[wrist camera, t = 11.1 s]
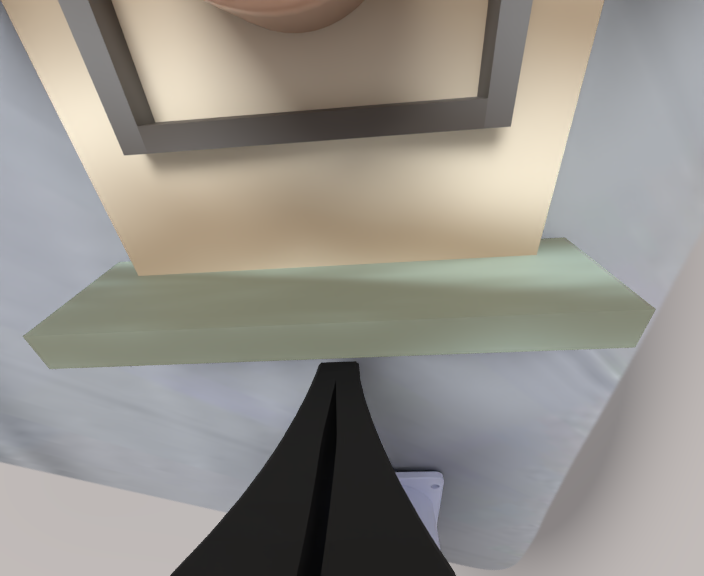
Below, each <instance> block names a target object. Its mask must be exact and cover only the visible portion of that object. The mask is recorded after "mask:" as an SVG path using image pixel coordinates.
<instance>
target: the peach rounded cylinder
mask: <svg viewBox="0 0 704 576" xmlns="http://www.w3.org/2000/svg"><path fill="white" fill-rule="evenodd" d="M203 1H205V2H207V3H209V4H212V5H214V6H216V7H218V8H220V9H222V10H224V11H226V12H228V13H230V14H233V15H235V16H237V17H239V18H241V19H243V20H245V21H247V22H249V23H252V24H254V25H256V26H259V27H262V28H265V29H268V30H271V31H276V32H282V33H305V32H311V31H316V30H319V29H322V28H325V27H328V26H330V25H332V24H334V23H336V22H338V21H339V20H341V19H343V18H344V17H346V16H347V15H348V14H350V13H351V12H352V11H354V10H355V9H356V8H357V7H358V6H359V5H360V4H361V3H362V2H363V1H364V0H203Z"/></svg>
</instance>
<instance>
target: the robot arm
mask: <svg viewBox="0 0 704 576" xmlns="http://www.w3.org/2000/svg"><path fill="white" fill-rule="evenodd" d="M443 485H444V479H443V474H441V473H440V472H436V471H429V472H395V471H394V469H393V467H392V465H391V463H390V461H389V459H388V457H387V455H386V452H385V450H384V448H383V446H382V443H381V441H380V439H379V436H378V434H377V431H376V429H375V426H374V424H373V421H372V418H371V416H370V413H369V410H368V407H367V404H366V400H365V397H364V393H363V389H362V385H361V381H360V372H359V364H358V363H357V362H356V361H355V362H327V363H321V364H320V365H319V366H318V369H317V372H316V375H315V377H314V379H313V382H312V384H311V386H310V388H309V391H308V393H307V395H306V397H305V399H304V401H303V403H302V405H301V407H300V408H299V410H298V412H297V414H296V416H295V418H294V420H293V421H292V423H291V425H290V426H289V428H288V430H287V432H286V433H285V435H284V437H283V438H282V440H281V442H280V443H279V445H278V446H277V448H276V449H275V451H274V452H273V454H272V455H271V457H270V458H269V460H268V461H267V463H266V464H265V465H264V467H263V468H262V470H261V471H260V472H259V474H258V475H257V476H256V478H255V479H254V480H253V482H252V483H251V484H250V486H249V487H248V488H247V490H246V491H245V492H244V494H243V495H242V496H241V497H240V499H239V500H238V501H237V502H236V503H235V505H234V506H233V507H232V508H231V509H230V510H229V512H228V513H227V514H226V515H225V516H224V517H223V519H222V520H221V521H220V522H219V523H218V525H217V526H216V527H215V528H214V529H213V530H212V531H211V533H210V534H209V535H208V536H207V537H206V538H205V539H204V540H203V541H202V542H201V544H199V545H198V547H197V548H196V549H195V550H194V551H193V552H192V553H191V554H190V555H189V556H188V557H187V558H186V559H185V560H184V561H183V562H182V563H181V564H180V566H179V567H178V568H177V569H176V570H175V571H174V572H173V573H172V574H171V575H170V576H456V575H455V572H454V571H453V569H452V568H451V566H450V565H449V563H448V562H447V560H446V559H445V557H444V556H443V554H442V552H441V549H440V543H439V537H438V531H437V522H438V516H439V510H440V503H441V497H442V491H443Z"/></svg>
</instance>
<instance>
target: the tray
mask: <svg viewBox="0 0 704 576" xmlns="http://www.w3.org/2000/svg"><path fill="white" fill-rule="evenodd" d="M1 1H2V3H3V5H4V7H5V9H6V11H7V13H8V15H9V17H10V19H11V21H12V23H13V25H14V27H15V29H16V31H17V33H18V35H19V37H20V39H21V41H22V43H23V45H24V48H25V50H26V52H27V54H28V56H29V58H30V60H31V62H32V64H33V66H34V68H35V70H36V72H37V74H38V76H39V78H40V80H41V82H42V84H43V86H44V88H45V90H46V92H47V94H48V96H49V98H50V100H51V102H52V104H53V106H54V108H55V110H56V112H57V114H58V116H59V118H60V120H61V122H62V124H63V126H64V128H65V130H66V132H67V134H68V136H69V138H70V140H71V142H72V144H73V146H74V148H75V150H76V152H77V154H78V156H79V158H80V160H81V162H82V164H83V166H84V168H85V170H86V172H87V174H88V176H89V178H90V180H91V182H92V184H93V186H94V188H95V190H96V192H97V194H98V196H99V198H100V200H101V202H102V204H103V206H104V208H105V210H106V212H107V214H108V216H109V218H110V220H111V222H112V224H113V226H114V228H115V230H116V232H117V234H118V236H119V238H120V240H121V242H122V244H123V246H124V248H125V250H126V252H127V254H128V256H129V258H130V260H131V262H119V263H117V264H116V265H115V266H113V267H112V268H111V269H109V270H108V271H107V272H106V273H104V274H103V275H102V276H100V277H99V278H98V279H96V280H95V281H94V282H93V283H91V284H90V285H89V286H87V287H86V288H85V289H84V290H82V291H81V292H80V293H78V294H77V295H76V296H74V297H73V298H72V299H71V300H69V301H68V302H67V303H65V304H64V305H63V306H61V307H60V308H59V309H58V310H56V311H55V312H54V313H52V314H51V315H50V316H49V317H47V318H46V319H45V320H43V321H42V322H41V323H39V324H38V325H37V326H36V327H34V328H33V329H32V330H30V331H29V332H28V333H26V334H25V335H24V336H23V337H24V339H25V340H26V341H27V342H28V343H29V345H30V346H31V347H32V348H33V350H34V351H35V352H36V353H37V354H38V356H39V357H40V358H41V359H42V360H43V362H44V363H45V364H46V365H47V367H48V368H49V369H62V368H89V367H116V366H144V365H171V364H198V363H225V362H252V361H280V360H307V359H334V358H361V357H389V356H416V355H443V354H470V353H497V352H525V351H552V350H579V349H606V348H634V347H636V345H637V343H638V341H639V339H640V337H641V336H642V334H643V332H644V330H645V328H646V326H647V324H648V323H649V321H650V319H651V317H652V315H653V313H654V312H655V310H656V309H655V308H654V307H652V306H651V305H650V304H648V303H647V302H646V301H645V300H643V299H642V298H641V297H640V296H638V295H637V294H636V293H635V292H633V291H632V290H631V289H629V288H628V287H627V286H626V285H624V284H623V283H622V282H621V281H619V280H618V279H617V278H615V277H614V276H613V275H612V274H610V273H609V272H608V271H607V270H605V269H604V268H603V267H602V266H600V265H599V264H598V263H596V262H595V261H594V260H593V259H591V258H590V257H589V256H588V255H586V254H585V253H584V252H582V251H581V250H580V249H579V248H577V247H576V246H575V245H574V244H572V243H571V242H570V241H569V240H567V239H566V238H547V239H541V237H542V233H543V229H544V225H545V222H546V218H547V214H548V210H549V206H550V203H551V199H552V195H553V191H554V188H555V184H556V180H557V176H558V173H559V169H560V165H561V161H562V157H563V154H564V150H565V146H566V142H567V139H568V135H569V131H570V127H571V124H572V120H573V116H574V112H575V109H576V105H577V101H578V97H579V93H580V90H581V86H582V82H583V78H584V75H585V71H586V67H587V63H588V60H589V56H590V52H591V48H592V45H593V41H594V37H595V33H596V29H597V26H598V22H599V18H600V14H601V11H602V7H603V3H604V0H364V1H363V2H362V3H361V4H360V5H359V6H358V7H357V8H356V9H355V10H354V11H352V12H351V13H350V14H348V15H347V16H346V17H344V18H343V19H341V20H339V21H338V22H336V23H334V24H332V25H330V26H328V27H325V28H322V29H319V30H316V31H311V32H305V33H282V32H276V31H271V30H268V29H265V28H262V27H259V26H256V25H254V24H252V23H249V22H247V21H245V20H243V19H241V18H239V17H237V16H235V15H233V14H230V13H228V12H226V11H224V10H222V9H220V8H218V7H216V6H214V5H212V4H209V3H207V2H205V1H203V0H1Z"/></svg>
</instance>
